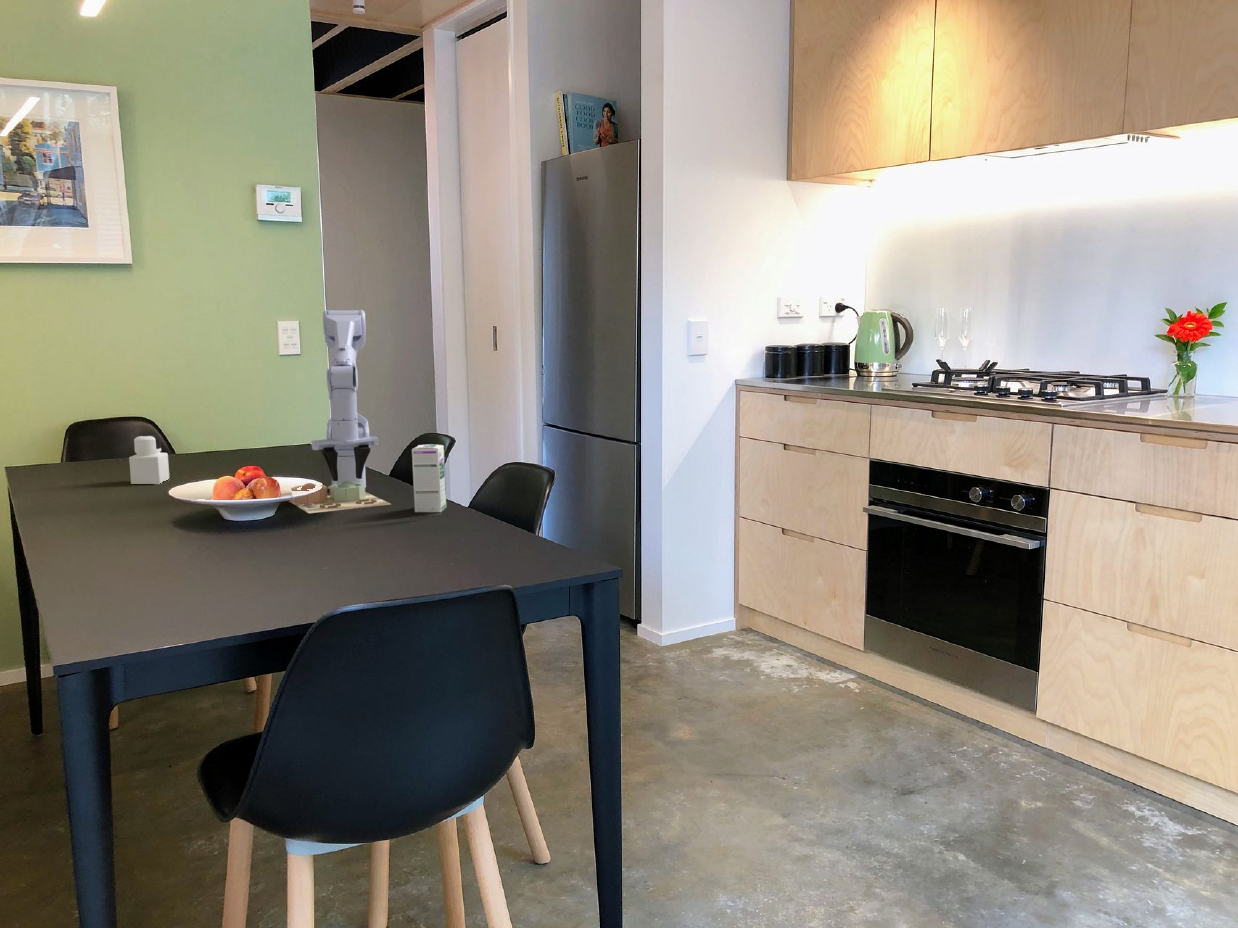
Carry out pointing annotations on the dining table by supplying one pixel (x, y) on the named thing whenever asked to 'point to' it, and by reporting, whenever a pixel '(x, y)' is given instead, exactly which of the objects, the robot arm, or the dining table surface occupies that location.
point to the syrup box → (429, 478)
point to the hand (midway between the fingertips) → (347, 479)
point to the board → (342, 504)
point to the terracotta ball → (308, 486)
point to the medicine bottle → (148, 461)
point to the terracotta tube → (311, 496)
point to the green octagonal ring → (347, 493)
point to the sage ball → (347, 484)
